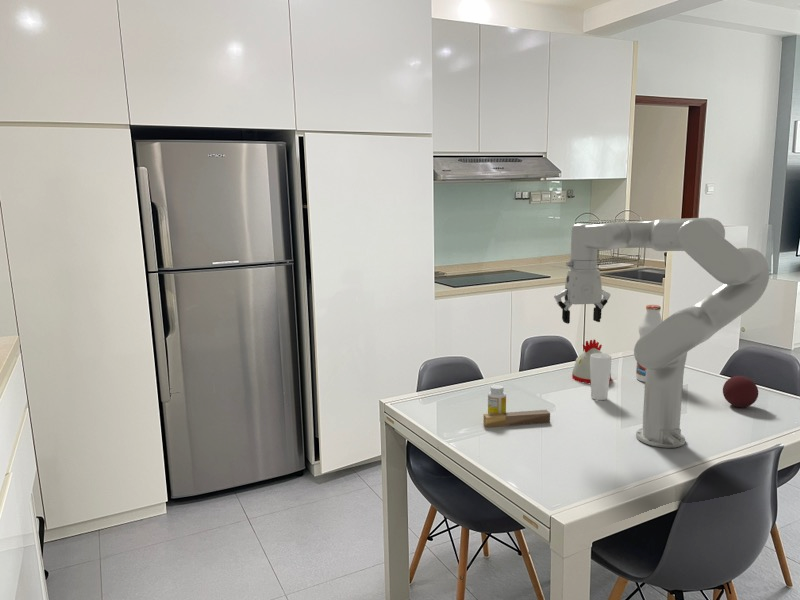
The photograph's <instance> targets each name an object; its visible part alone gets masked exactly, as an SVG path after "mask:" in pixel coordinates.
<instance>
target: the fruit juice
mask: <svg viewBox="0 0 800 600" xmlns="http://www.w3.org/2000/svg"><path fill="white" fill-rule="evenodd" d="M661 308H662V307H661V305H658V304H646V306H645V310H646V312H645V315H644V317H643V319H642V322H641V323H640V324H639V325H638V333H639V338H638V340H639V339H640V338H641V337H642V336H644V335H645V334H646V333H648V332H649V331H650V330H652V329H653V328H654V327H656V326H657V325H659V324H660V323H661V322H663V318H662V316H661V313H660V312H661ZM635 369H636V370H635V371H636V372H635V377H636V379H637V381H640V382H643V383H645V376H646V368H644V367H642V366H641V365H640V364H639V363H638V362H637V361H636V368H635Z"/></svg>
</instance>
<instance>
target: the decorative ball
mask: <svg viewBox="0 0 800 600" xmlns="http://www.w3.org/2000/svg"><path fill="white" fill-rule="evenodd" d="M722 394H723V397H724V399H725V401H726V402H727V403H729V404H730V405H731V406H734V407H736V408H747V407H750V406H752V405H754V403H755V402H756V401H757V400H758V397H759V389H758V386H757V384H756V383H755V382H754V380H752V379H751V378H749V377H747V376H744V375H735V376H731V377H729V378H728V379H727V380H726V381H725V382H724V384H723V386H722Z"/></svg>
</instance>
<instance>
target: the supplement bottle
mask: <svg viewBox="0 0 800 600" xmlns="http://www.w3.org/2000/svg"><path fill="white" fill-rule="evenodd" d="M504 390H505V389H504V386H503V385H500V384H492V385H491V386H490V391H489V392H487V393H488V394H487V414H492V413H507V393H506V392H505V391H504Z"/></svg>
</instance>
